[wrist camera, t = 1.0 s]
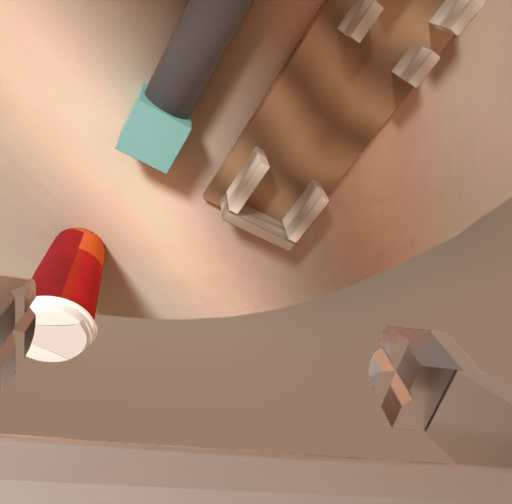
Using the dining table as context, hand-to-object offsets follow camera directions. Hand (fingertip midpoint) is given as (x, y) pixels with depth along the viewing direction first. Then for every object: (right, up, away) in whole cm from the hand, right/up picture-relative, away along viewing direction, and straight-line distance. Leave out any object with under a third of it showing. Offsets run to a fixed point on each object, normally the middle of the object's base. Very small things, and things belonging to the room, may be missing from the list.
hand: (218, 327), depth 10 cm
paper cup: (-20, +2, +39) cm, 44 cm away
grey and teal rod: (-3, +23, +27) cm, 36 cm away
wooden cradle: (+8, +17, +33) cm, 38 cm away
